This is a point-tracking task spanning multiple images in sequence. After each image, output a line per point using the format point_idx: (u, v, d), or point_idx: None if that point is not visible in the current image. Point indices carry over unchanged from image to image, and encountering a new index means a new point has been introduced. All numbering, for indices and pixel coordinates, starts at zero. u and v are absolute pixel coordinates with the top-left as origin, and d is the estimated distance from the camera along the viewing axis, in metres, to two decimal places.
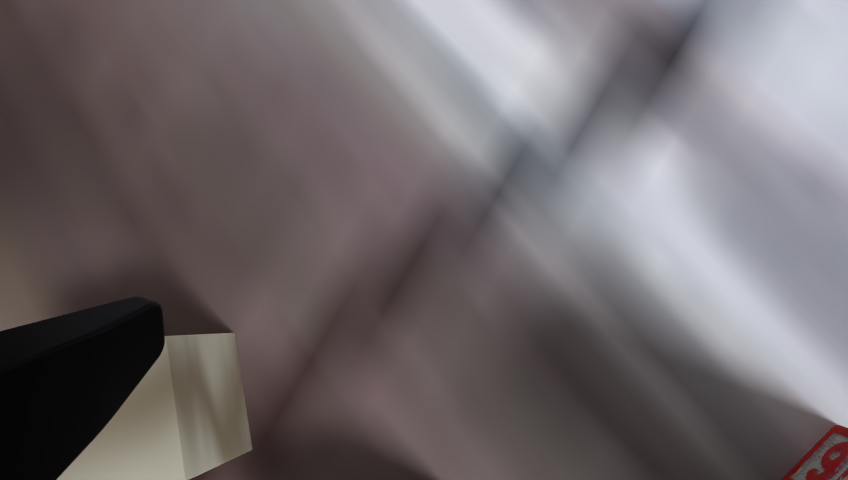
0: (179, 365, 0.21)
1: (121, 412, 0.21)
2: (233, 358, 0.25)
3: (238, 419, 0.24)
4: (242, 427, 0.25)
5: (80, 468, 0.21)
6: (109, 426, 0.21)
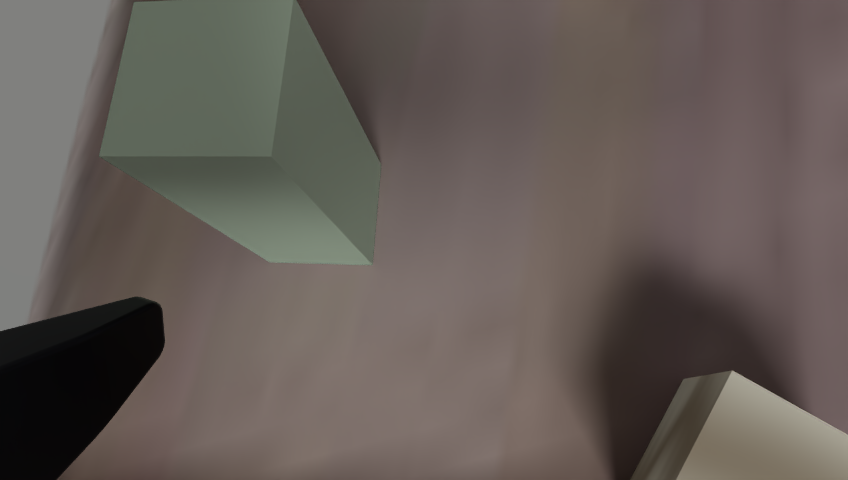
0: None
1: None
2: None
3: None
4: None
5: None
6: None
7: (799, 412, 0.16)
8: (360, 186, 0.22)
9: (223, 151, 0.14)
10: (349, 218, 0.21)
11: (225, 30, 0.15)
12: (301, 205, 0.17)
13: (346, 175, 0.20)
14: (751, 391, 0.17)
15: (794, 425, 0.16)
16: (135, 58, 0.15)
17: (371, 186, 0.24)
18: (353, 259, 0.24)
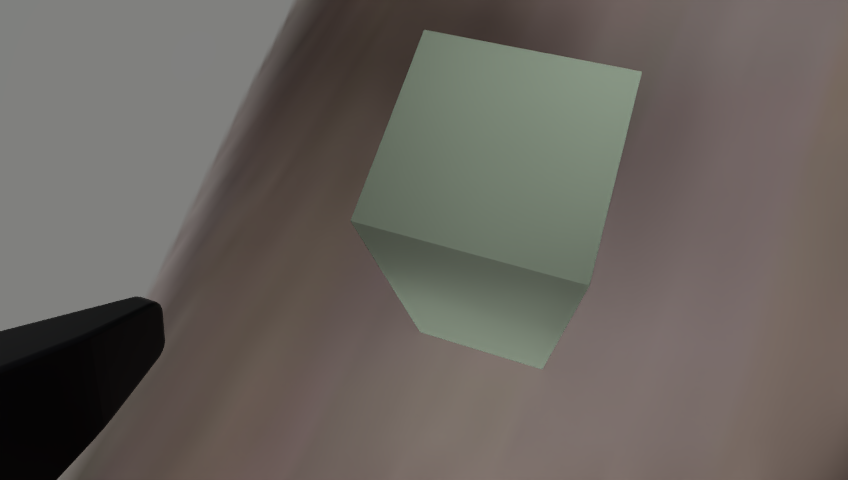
0: None
1: None
2: None
3: None
4: None
5: None
6: None
7: None
8: None
9: (520, 260, 0.10)
10: None
11: (542, 95, 0.12)
12: (547, 320, 0.14)
13: None
14: None
15: None
16: (417, 102, 0.12)
17: None
18: (526, 360, 0.20)
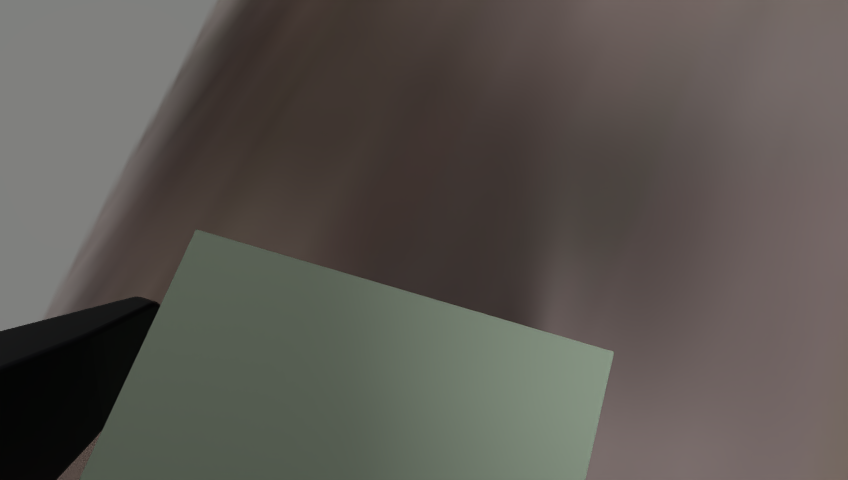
0: None
1: None
2: None
3: None
4: None
5: None
6: None
7: None
8: None
9: None
10: None
11: (406, 398, 0.06)
12: None
13: None
14: None
15: None
16: (159, 397, 0.06)
17: None
18: None
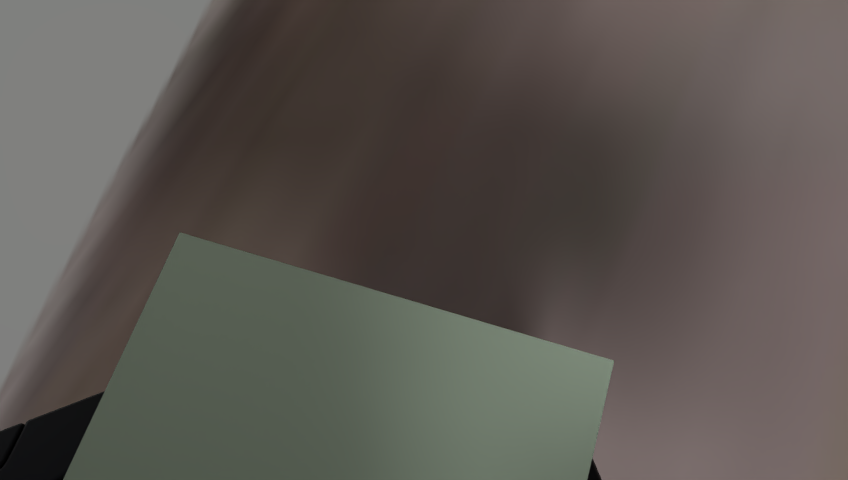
0: None
1: None
2: None
3: None
4: None
5: None
6: None
7: None
8: None
9: None
10: None
11: (397, 409, 0.05)
12: None
13: None
14: None
15: None
16: (140, 408, 0.06)
17: None
18: None
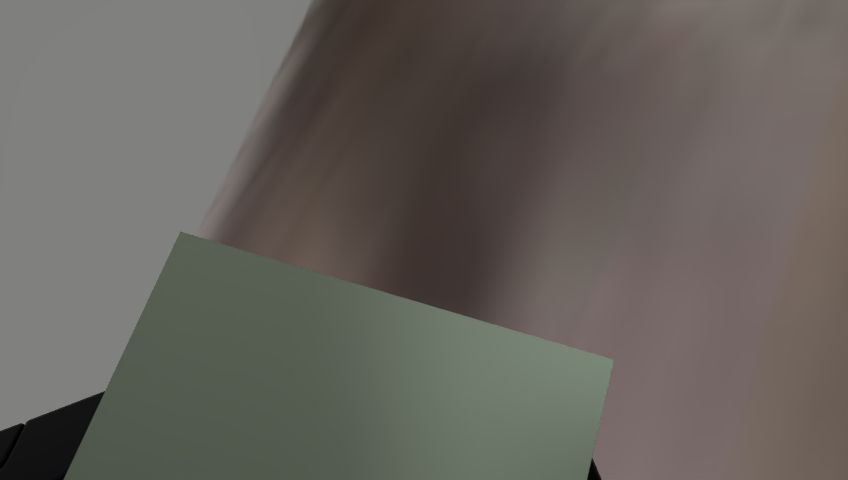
0: None
1: None
2: None
3: None
4: None
5: None
6: None
7: None
8: None
9: None
10: None
11: (397, 408, 0.05)
12: None
13: None
14: None
15: None
16: (141, 407, 0.06)
17: None
18: None
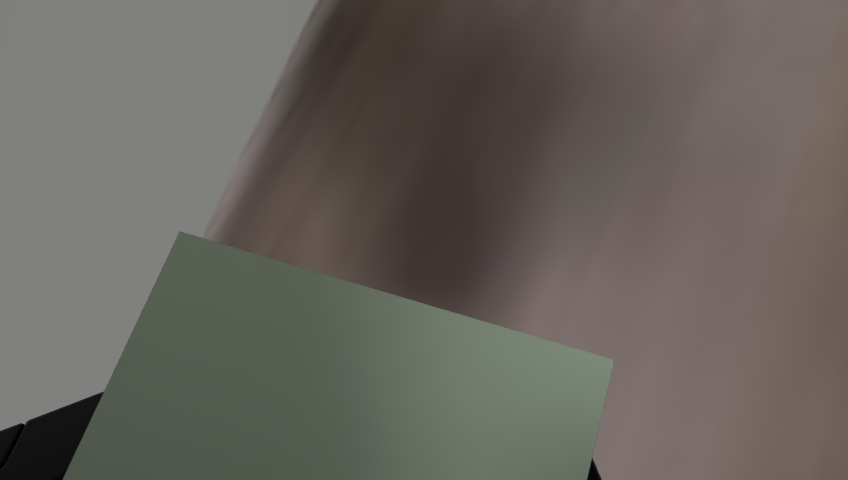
0: None
1: None
2: None
3: None
4: None
5: None
6: None
7: None
8: None
9: None
10: None
11: (397, 408, 0.05)
12: None
13: None
14: None
15: None
16: (140, 407, 0.06)
17: None
18: None
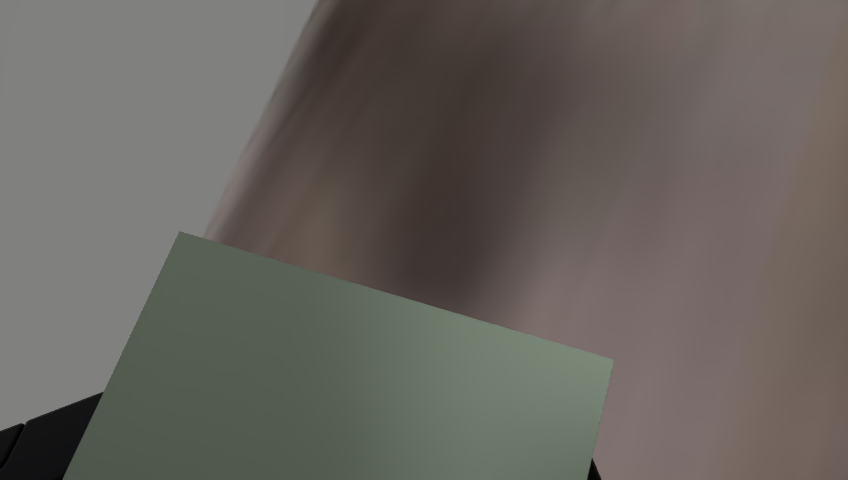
0: None
1: None
2: None
3: None
4: None
5: None
6: None
7: None
8: None
9: None
10: None
11: (397, 408, 0.05)
12: None
13: None
14: None
15: None
16: (139, 407, 0.06)
17: None
18: None
